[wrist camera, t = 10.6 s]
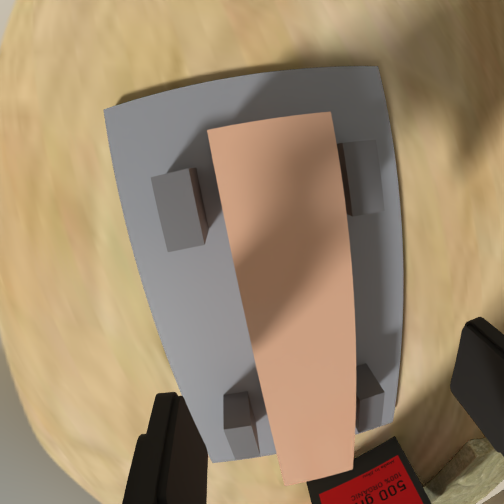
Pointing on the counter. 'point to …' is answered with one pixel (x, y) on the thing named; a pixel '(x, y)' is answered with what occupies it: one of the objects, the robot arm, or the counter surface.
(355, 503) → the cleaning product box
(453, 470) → the decorative tile
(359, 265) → the grey plate with pegs
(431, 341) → the counter surface
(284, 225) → the clay strip
